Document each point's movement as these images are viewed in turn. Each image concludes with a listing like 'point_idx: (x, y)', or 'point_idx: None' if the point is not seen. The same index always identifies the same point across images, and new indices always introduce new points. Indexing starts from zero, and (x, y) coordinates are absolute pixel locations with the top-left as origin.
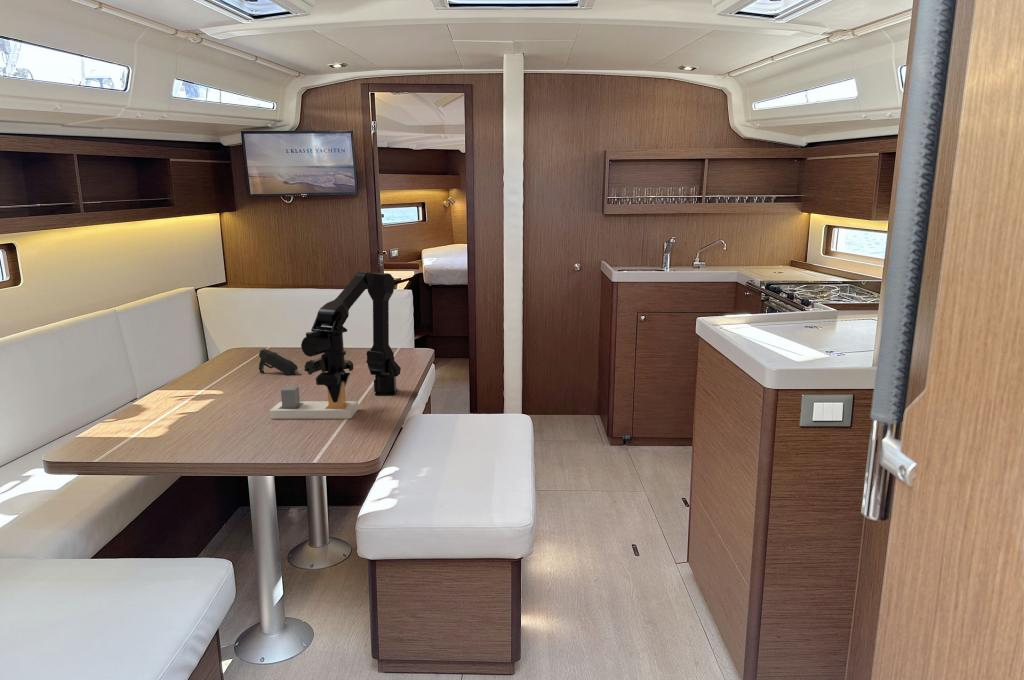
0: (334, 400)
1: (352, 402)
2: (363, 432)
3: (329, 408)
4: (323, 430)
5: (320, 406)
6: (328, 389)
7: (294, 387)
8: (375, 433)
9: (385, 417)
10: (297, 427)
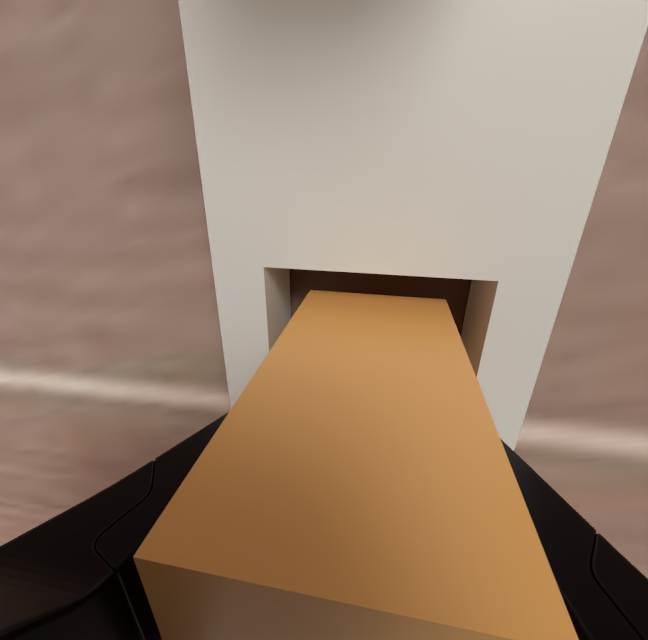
0: None
1: None
2: (72, 489)
3: (302, 305)
4: (27, 303)
5: (354, 191)
6: (72, 511)
7: None
8: None
9: None
10: (5, 70)
